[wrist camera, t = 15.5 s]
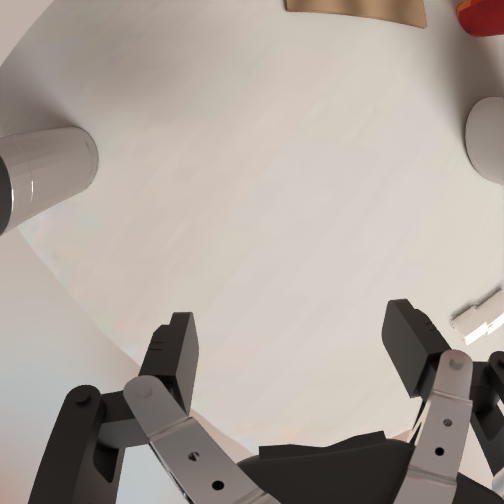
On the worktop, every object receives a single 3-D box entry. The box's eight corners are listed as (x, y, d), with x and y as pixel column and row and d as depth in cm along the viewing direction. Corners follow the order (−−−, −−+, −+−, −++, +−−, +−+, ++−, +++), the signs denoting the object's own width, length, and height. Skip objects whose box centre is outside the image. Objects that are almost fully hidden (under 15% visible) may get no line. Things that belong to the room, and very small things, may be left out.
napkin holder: (511, 279, 43) (529, 294, 38) (489, 331, 47) (504, 348, 42) (455, 276, 43) (473, 294, 37) (433, 335, 47) (447, 355, 42)
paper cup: (491, 51, 28) (556, 44, 15) (451, 32, 28) (516, 13, 15) (487, 8, 25) (547, -8, 12) (448, -12, 25) (505, -40, 12)
